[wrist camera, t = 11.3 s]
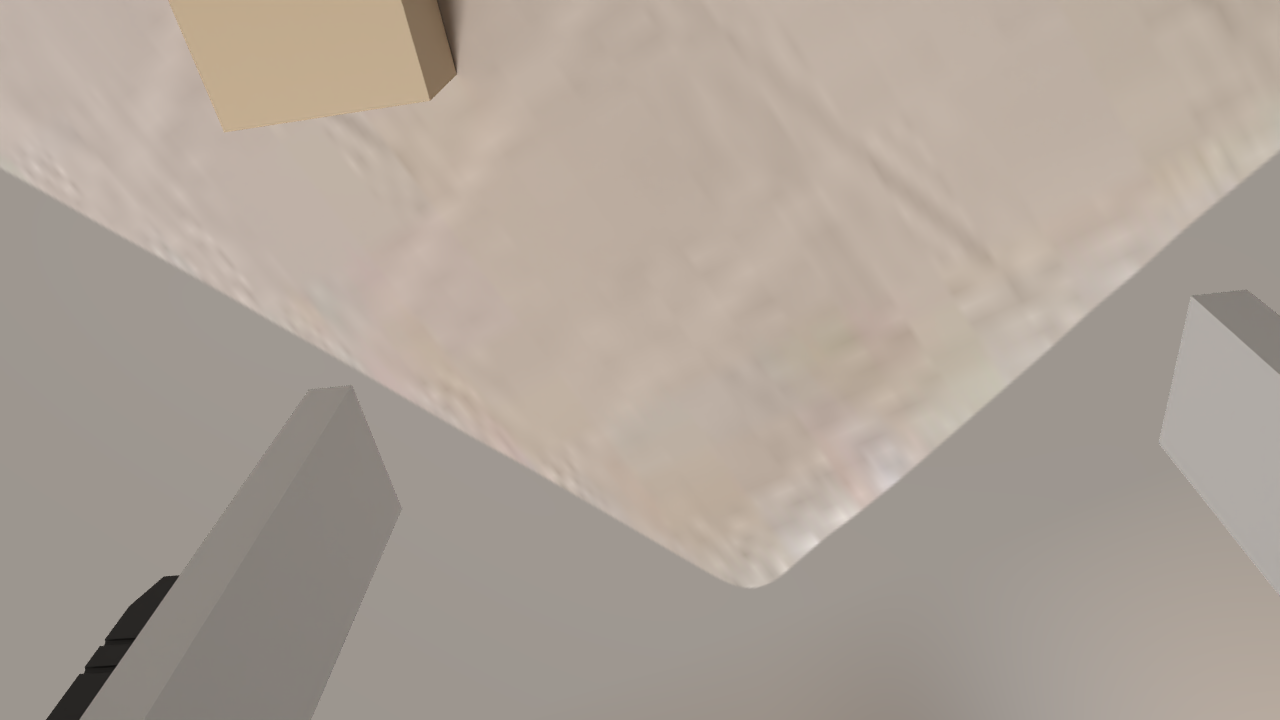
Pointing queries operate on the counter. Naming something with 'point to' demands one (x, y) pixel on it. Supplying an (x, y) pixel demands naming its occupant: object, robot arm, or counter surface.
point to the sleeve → (313, 56)
